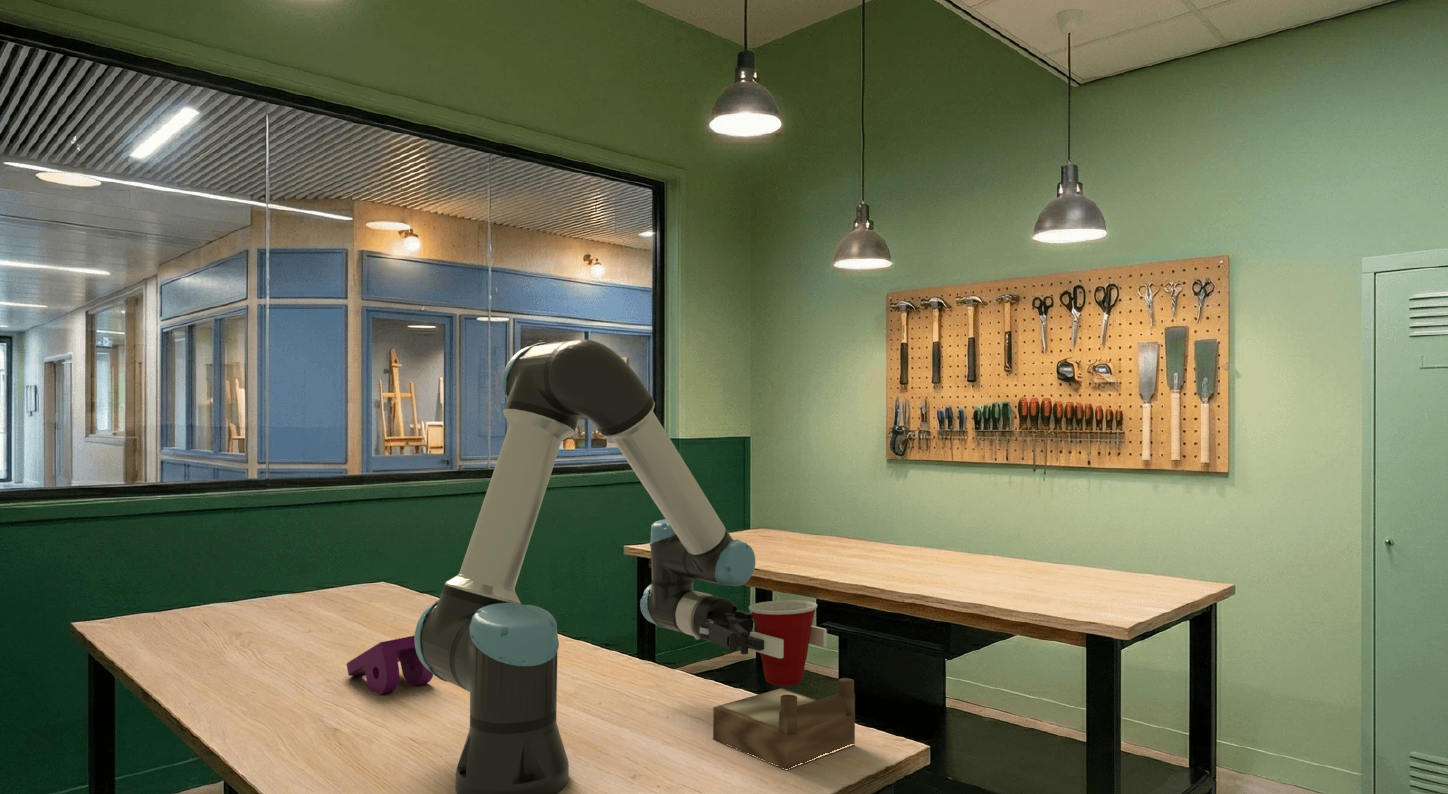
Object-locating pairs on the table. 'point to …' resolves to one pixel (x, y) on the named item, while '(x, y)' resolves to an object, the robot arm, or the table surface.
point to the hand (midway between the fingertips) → (803, 643)
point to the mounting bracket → (390, 665)
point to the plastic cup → (785, 637)
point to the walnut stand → (788, 724)
